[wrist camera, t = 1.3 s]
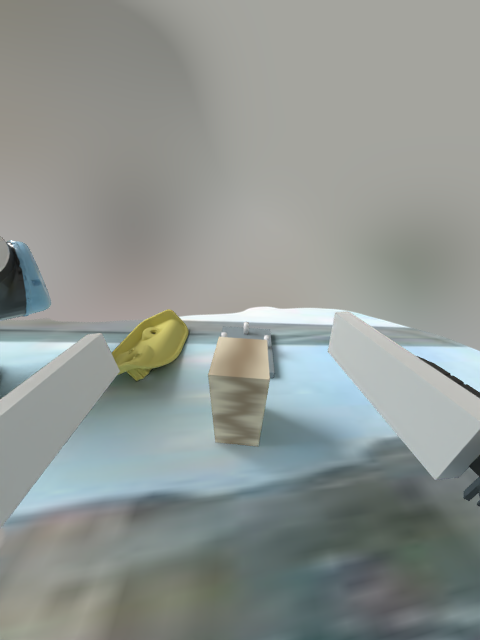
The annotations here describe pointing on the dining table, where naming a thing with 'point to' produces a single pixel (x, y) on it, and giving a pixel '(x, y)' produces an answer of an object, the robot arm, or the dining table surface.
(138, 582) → the dining table surface
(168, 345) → the plastic component
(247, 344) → the birch block
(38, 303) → the robot arm
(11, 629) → the dining table surface
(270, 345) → the pin plate
